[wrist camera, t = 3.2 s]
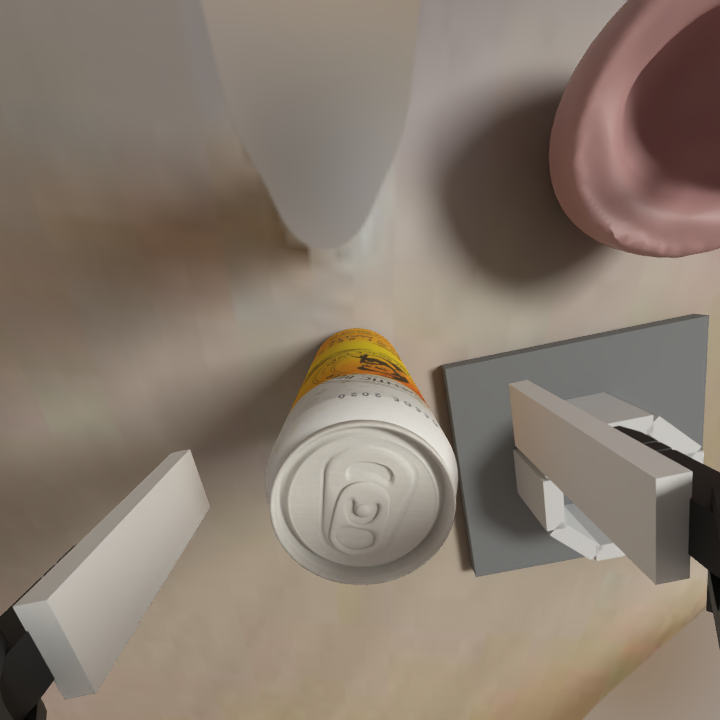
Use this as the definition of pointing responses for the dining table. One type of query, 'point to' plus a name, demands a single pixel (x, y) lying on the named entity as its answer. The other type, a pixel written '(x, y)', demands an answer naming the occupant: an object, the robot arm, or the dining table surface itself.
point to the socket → (587, 392)
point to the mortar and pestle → (644, 131)
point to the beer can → (361, 467)
